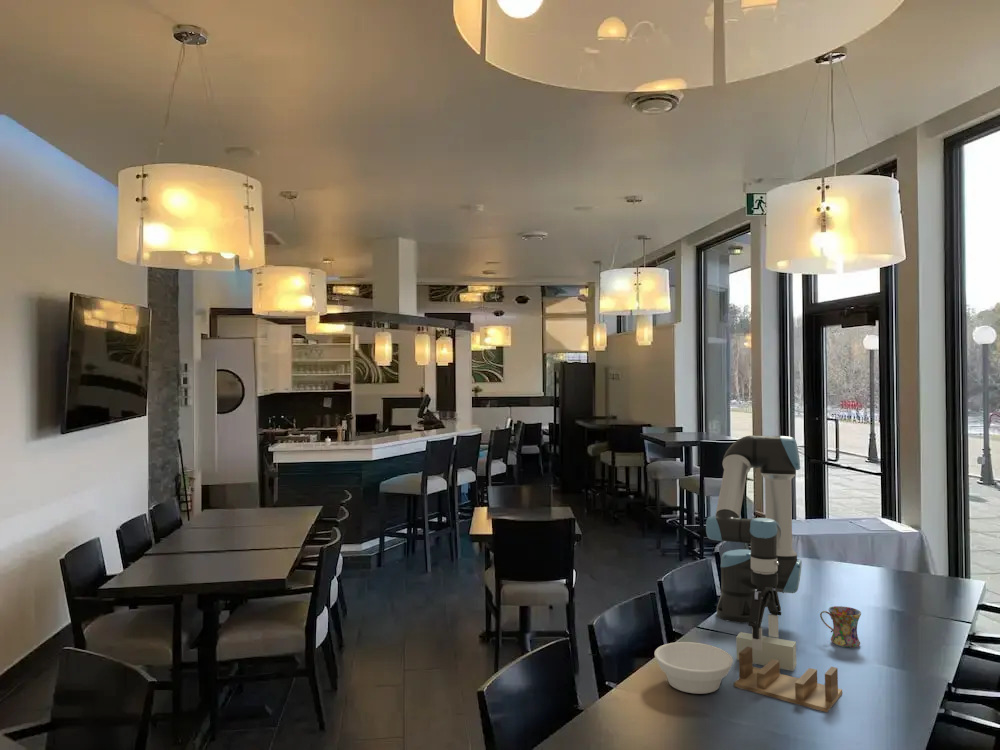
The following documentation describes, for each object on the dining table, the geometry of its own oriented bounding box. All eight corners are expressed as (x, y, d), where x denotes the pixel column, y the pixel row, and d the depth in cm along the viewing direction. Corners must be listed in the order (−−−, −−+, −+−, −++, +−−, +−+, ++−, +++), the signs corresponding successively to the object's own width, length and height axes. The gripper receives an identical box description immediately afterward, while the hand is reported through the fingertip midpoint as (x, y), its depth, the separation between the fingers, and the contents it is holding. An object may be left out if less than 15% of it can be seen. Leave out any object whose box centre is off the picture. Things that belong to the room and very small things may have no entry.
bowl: (722, 709, 176) (722, 677, 176) (643, 691, 187) (643, 661, 187) (741, 679, 193) (741, 650, 194) (668, 664, 205) (668, 636, 205)
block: (736, 660, 207) (736, 637, 207) (740, 654, 211) (740, 632, 211) (793, 671, 198) (793, 647, 199) (796, 665, 203) (795, 641, 203)
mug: (864, 643, 219) (864, 609, 219) (858, 652, 212) (857, 617, 212) (824, 635, 226) (823, 602, 227) (816, 643, 219) (816, 610, 219)
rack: (733, 686, 189) (733, 657, 189) (752, 670, 199) (752, 642, 199) (827, 712, 173) (826, 680, 173) (842, 693, 184) (841, 663, 184)
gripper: (761, 582, 193) (763, 658, 193) (790, 565, 212) (792, 634, 212) (735, 577, 198) (737, 651, 198) (766, 561, 217) (767, 629, 217)
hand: (765, 643), depth 205 cm, fingers open, 13 cm apart
